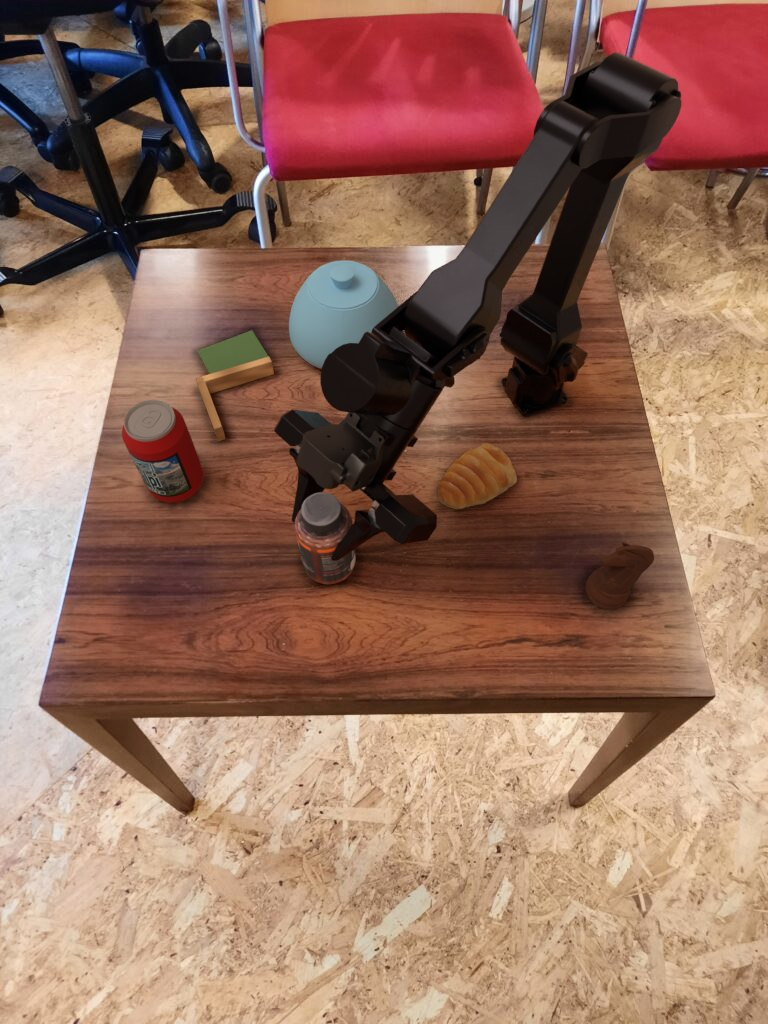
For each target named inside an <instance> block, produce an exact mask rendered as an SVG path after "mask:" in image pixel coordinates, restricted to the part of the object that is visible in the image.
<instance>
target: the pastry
mask: <svg viewBox="0 0 768 1024" xmlns="http://www.w3.org/2000/svg"><path fill="white" fill-rule="evenodd" d="M517 481H518V476H517V473H516V469H515V468H514V467H513V463H512V461H511V458H510V457H508V455H507V454H506V452H504V451H503V450H502V449H501V448H500V447H498V446H496V445H494V444H493V443H482V445H480V446H477V447H474V448H472V449H469V450H467V451H465V452H464V453H463V454H462V455H461V456H460V457H458V458H456V459H455V460H454V462H453V463H452V464H451V465H450V466H449V468H448V469H447V470H446V472H445V474H444V476H443V477H442V479H441V480H440V481H439V482H438V492H437V499H438V501H439V502H440V503H441V504H442V505H444V506H445V507H448V508H451V509H454V510H461V509H465V508H469V507H474V506H479V505H484V504H486V503H487V502H489V501H491V500H493V499H494V498H496V497H498V496H499V495H501V494H503V493H504V492H507V491H508V490H509V488H510V487H513V486H514V485H515V484H516V483H517Z"/></svg>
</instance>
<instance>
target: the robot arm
mask: <svg viewBox="0 0 768 1024" xmlns="http://www.w3.org/2000/svg"><path fill="white" fill-rule="evenodd" d="M681 109H682V92H681V91H680V90H679V82H678V80H677V79H676V78H674V77H673V76H670V75H668V74H666V73H664V72H662V71H659V70H657V69H655V68H654V67H652V66H648V65H647V64H644V63H642V62H640V61H638V60H636V59H633V58H631V57H629V56H627V55H625V54H623V53H620V52H612V53H610V54H609V55H607V56H606V57H605V58H604V59H603V60H599V61H595V62H594V63H592V64H590V65H588V66H585V68H582V69H581V70H579V71H576V72H575V73H573V74H571V75H570V76H569V79H568V83H567V86H566V89H565V93H564V94H563V95H562V96H560V97H558V98H556V99H554V100H552V101H551V102H549V104H547V105H546V106H545V108H543V110H542V111H541V113H540V115H539V116H538V118H537V120H536V122H535V126H534V129H533V137H532V138H531V141H530V142H529V144H528V145H527V147H525V148H526V149H525V150H524V152H523V153H522V155H521V156H520V158H519V159H518V161H517V163H516V164H515V165H514V167H513V168H512V170H511V172H510V173H509V175H508V177H507V178H506V179H505V182H504V184H503V185H502V187H500V189H499V191H498V193H497V194H496V196H495V198H494V199H493V200H492V203H490V206H489V207H488V209H487V210H486V212H485V213H484V215H483V217H482V218H481V220H480V221H479V223H478V224H477V226H476V228H475V229H474V231H473V233H472V235H471V236H470V237H469V239H468V240H467V242H466V243H465V245H464V246H463V248H462V249H461V251H460V252H459V254H458V255H457V256H456V257H455V258H454V259H452V260H450V261H449V262H447V263H445V264H443V265H441V266H439V267H437V268H435V269H434V270H432V271H431V272H430V273H429V275H428V276H427V278H426V279H425V280H424V282H423V283H422V284H421V285H420V287H419V288H418V289H417V291H415V292H414V293H413V294H411V295H410V296H409V297H408V298H407V299H406V300H405V301H403V302H402V303H401V304H400V305H398V307H397V308H396V309H395V310H394V311H393V312H391V313H390V314H389V315H388V316H387V317H385V318H384V319H383V320H382V321H381V322H379V323H378V324H377V325H376V326H375V327H373V329H372V333H370V332H365V333H364V335H363V336H362V338H361V340H360V342H359V343H347V344H344V345H341V346H340V347H338V348H336V349H335V350H334V351H333V352H332V353H330V354H329V355H328V356H327V358H326V359H325V361H324V364H323V366H322V369H320V378H319V379H320V388H321V393H322V394H323V397H324V399H325V401H327V403H328V404H329V405H330V406H331V407H332V408H333V409H335V410H337V411H339V412H345V413H347V414H346V415H345V418H343V419H342V420H341V421H340V422H338V423H331V422H330V421H329V420H327V419H326V418H325V417H324V416H323V415H322V414H321V413H319V412H316V411H308V410H299V409H290V410H288V411H286V412H285V413H283V414H282V415H280V417H279V419H278V421H277V422H276V424H275V427H274V429H273V431H274V433H275V434H276V435H277V436H279V437H280V439H282V440H283V441H284V442H285V443H286V444H287V445H288V446H290V448H289V450H288V452H289V455H290V456H291V457H292V459H293V460H294V463H295V465H296V467H297V472H298V473H297V485H296V492H295V496H294V502H293V503H294V504H293V509H292V515H291V522H293V524H295V520H296V517H297V515H298V513H299V511H300V510H301V507H302V504H303V502H304V501H305V499H306V498H307V497H309V496H310V495H312V494H315V493H319V492H324V490H334V489H336V488H338V487H339V486H341V485H344V486H346V487H347V488H348V489H349V490H350V491H351V492H356V491H358V490H360V491H361V492H362V493H363V494H364V495H365V496H366V497H367V498H369V499H370V500H371V501H372V503H371V505H370V508H369V509H356V510H355V511H354V522H352V524H353V525H352V526H351V528H350V529H349V530H348V532H347V533H346V535H345V536H344V538H343V539H342V540H341V542H340V543H339V545H338V546H337V547H336V549H335V551H334V553H333V555H332V557H331V559H332V560H333V561H337V560H340V559H341V558H343V557H344V556H346V555H347V554H348V553H350V552H351V551H353V550H354V549H355V550H356V549H358V548H359V547H360V546H362V545H363V544H365V543H367V541H369V540H371V539H372V538H373V537H375V536H377V535H380V534H381V533H385V534H386V535H387V536H388V537H390V538H391V540H393V541H394V542H396V543H397V544H400V545H408V544H415V543H420V542H427V541H428V540H429V539H430V538H431V536H432V535H433V534H434V532H435V531H436V529H437V526H438V515H437V514H436V513H435V512H434V511H433V510H432V509H431V508H429V507H428V506H427V505H426V504H425V503H424V502H422V501H421V499H419V498H418V497H417V496H416V495H414V494H413V493H410V494H409V493H408V494H407V493H406V494H396V493H395V492H393V491H392V490H391V489H390V488H389V487H388V486H386V484H384V483H385V482H386V481H393V479H394V478H395V476H396V475H397V471H396V470H395V469H394V468H395V466H396V465H397V464H398V461H399V460H400V458H401V456H402V455H403V453H404V452H405V450H406V449H407V448H414V446H415V445H416V443H417V442H418V440H419V438H418V437H417V436H416V435H415V434H416V433H417V432H418V430H419V428H420V426H421V425H422V424H423V422H424V420H425V418H426V417H427V416H428V414H429V413H430V411H431V409H432V407H433V406H434V405H435V403H436V402H437V400H438V398H439V396H440V395H441V393H442V392H443V390H444V389H445V388H452V387H454V386H455V376H456V375H457V374H459V373H460V372H462V371H463V370H464V369H465V368H467V367H469V366H470V365H472V364H474V363H475V362H477V360H480V359H481V357H482V356H483V355H484V354H485V352H486V350H487V347H488V345H489V343H490V338H491V335H492V333H493V332H494V329H495V327H496V326H497V324H498V323H499V321H500V319H501V316H502V305H503V304H502V301H503V290H504V289H505V287H506V285H507V283H508V282H509V280H510V279H511V277H512V275H513V274H514V272H515V270H516V269H517V268H518V266H519V265H520V264H521V262H522V260H523V259H524V257H525V256H526V255H527V253H528V251H529V250H530V248H531V246H532V245H533V244H534V243H535V241H536V240H537V237H538V236H539V234H540V233H541V231H542V230H543V229H544V227H545V225H546V224H547V223H548V221H549V219H550V218H551V216H552V215H553V213H554V212H555V210H556V209H557V207H558V206H559V205H560V203H561V201H562V200H563V198H564V197H565V195H566V197H565V200H564V202H563V204H562V208H561V210H560V213H559V217H558V219H557V222H556V225H555V228H554V231H553V233H552V237H551V240H550V242H549V245H548V248H547V251H546V253H545V257H544V259H543V263H542V266H541V268H540V271H539V274H538V277H537V279H536V283H535V285H534V288H533V290H532V294H530V295H529V296H527V297H526V298H524V300H522V301H521V302H519V303H518V304H517V305H515V306H513V307H512V308H511V309H509V310H508V311H507V313H506V317H505V321H504V322H503V325H502V328H501V329H500V333H499V337H500V345H501V346H502V348H503V350H504V352H507V353H509V354H510V355H511V356H513V360H512V364H511V367H510V368H509V369H508V372H507V376H506V377H503V378H502V379H501V381H500V383H501V385H502V387H503V388H504V392H505V393H506V395H507V397H508V399H510V401H511V403H512V404H513V405H515V407H516V408H517V410H518V411H519V413H520V415H521V416H522V417H524V418H525V417H530V416H533V415H536V414H539V413H541V412H545V411H547V410H550V409H553V408H556V407H559V406H562V405H565V404H567V403H568V401H569V398H568V396H567V394H566V393H565V392H564V390H563V387H564V385H565V383H573V382H574V381H576V380H577V376H578V372H579V370H580V369H581V368H582V367H583V366H584V364H585V361H586V359H587V357H588V354H589V352H587V351H585V350H584V349H583V348H581V347H579V346H578V345H577V344H578V341H579V338H580V335H581V332H582V329H583V325H582V319H581V315H580V309H579V305H578V301H579V298H580V295H581V292H582V290H583V287H584V286H585V283H586V280H587V278H588V276H589V273H590V270H591V268H592V266H593V264H594V260H595V258H596V257H597V253H598V252H599V251H598V250H599V249H600V246H601V243H602V241H603V239H604V236H605V233H606V231H607V228H608V226H609V224H610V221H611V218H612V217H613V214H614V211H615V209H616V206H617V203H618V201H619V199H620V196H621V194H622V192H623V189H624V186H625V184H626V181H627V179H628V177H629V175H630V173H631V172H633V170H634V169H636V168H637V167H638V166H639V165H640V164H642V163H644V161H646V160H647V159H648V158H649V157H651V156H652V155H653V154H654V153H656V152H657V151H658V149H659V148H660V145H661V143H662V142H663V139H664V138H665V137H666V136H667V135H668V134H669V132H670V131H671V130H672V128H673V127H674V125H675V123H676V122H677V120H678V117H679V115H680V112H681ZM403 332H404V333H403Z"/></svg>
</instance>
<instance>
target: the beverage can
mask: <svg viewBox="0 0 768 1024" xmlns="http://www.w3.org/2000/svg"><path fill="white" fill-rule="evenodd" d="M121 438H122V441H123V443H124V445H125V447H126V449H127V451H128V453H129V455H130V457H131V460H132V461H133V463H134V465H135V467H136V469H137V471H138V473H139V475H140V477H141V479H142V480H143V483H144V485H145V487H146V488H147V490H148V492H149V494H150V495H151V496H152V497H154V499H157V500H158V501H160V502H165V503H179V502H182V501H185V500H187V499H190V498H191V497H192V496H193V495H195V494H196V493H197V492H198V491H199V490H200V488H201V486H202V484H203V482H204V470H203V467H202V464H201V461H200V458H199V455H198V451H197V450H196V447H195V443H194V442H193V439H192V436H191V433H190V430H189V428H188V426H187V423H186V420H185V419H184V417H183V414H182V413H181V412H180V411H179V410H177V409H176V408H175V407H172V406H171V405H170V404H169V403H167V402H166V401H164V400H161V399H146V400H143V401H140V402H138V403H136V404H135V405H133V406H132V407H131V408H129V409H128V411H127V413H125V416H124V418H123V425H122V429H121Z"/></svg>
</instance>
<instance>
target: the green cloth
mask: <svg viewBox="0 0 768 1024" xmlns="http://www.w3.org/2000/svg"><path fill="white" fill-rule="evenodd" d="M196 352H197V355H199V358H200V359H201V361H202V363H203V365H204V366H205V369H206V370H207V372H208V374H212V373H215V372H219V371H222V370H225V369H229V368H232V367H235V366H239V365H242V364H245V363H249V362H252V361H255V360H259V359H262V358H266V357H270V356H269V355H268V353H267V351H266V350H265V348H264V347H263V345H262V343H261V342H260V340H259V338H258V337H257V336H256V334H255V332H254V331H253V329H251V330H249V331H246V332H243V333H241V334H238V335H235V336H232V337H230V338H226V339H224V340H222V341H219V342H216V343H214V344H211V345H209V346H206V347H202V348H200V349H198V350H196Z"/></svg>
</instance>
